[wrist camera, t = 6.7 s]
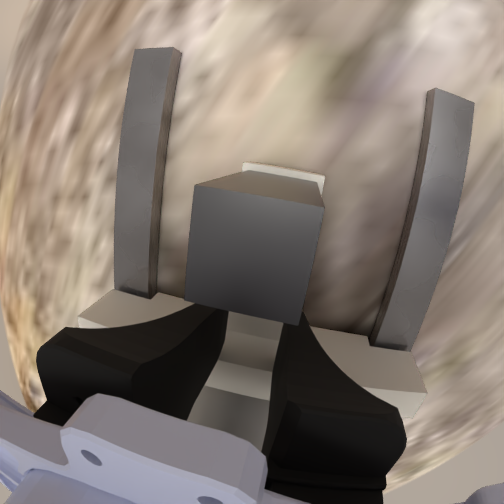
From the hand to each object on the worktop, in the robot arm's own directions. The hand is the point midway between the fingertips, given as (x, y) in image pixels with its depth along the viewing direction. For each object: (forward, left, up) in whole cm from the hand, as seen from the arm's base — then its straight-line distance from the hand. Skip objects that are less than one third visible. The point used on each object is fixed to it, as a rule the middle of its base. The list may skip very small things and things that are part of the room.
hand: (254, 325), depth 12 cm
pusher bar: (0, -1, -3) cm, 3 cm away
